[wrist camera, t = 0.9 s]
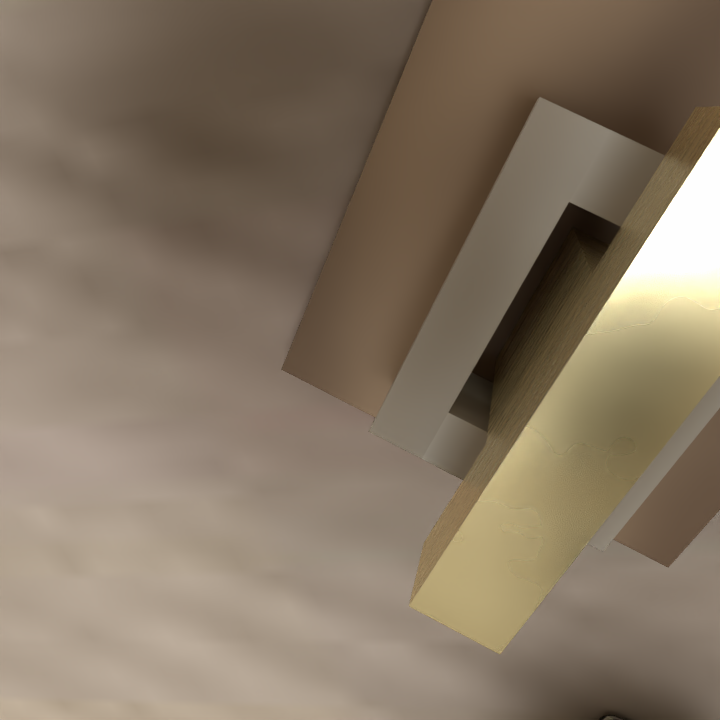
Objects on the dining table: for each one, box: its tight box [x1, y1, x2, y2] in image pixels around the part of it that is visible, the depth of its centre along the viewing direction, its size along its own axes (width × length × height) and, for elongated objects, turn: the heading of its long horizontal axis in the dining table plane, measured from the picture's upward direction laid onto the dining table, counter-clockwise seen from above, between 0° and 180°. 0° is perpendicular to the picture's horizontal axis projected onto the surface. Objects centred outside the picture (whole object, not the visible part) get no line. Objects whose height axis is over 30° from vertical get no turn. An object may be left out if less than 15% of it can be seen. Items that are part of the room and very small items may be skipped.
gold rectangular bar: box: [409, 106, 720, 654], centre depth 13 cm, size 2×10×7 cm, turn 157°
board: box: [282, 0, 720, 567], centre depth 13 cm, size 13×22×4 cm, turn 157°
